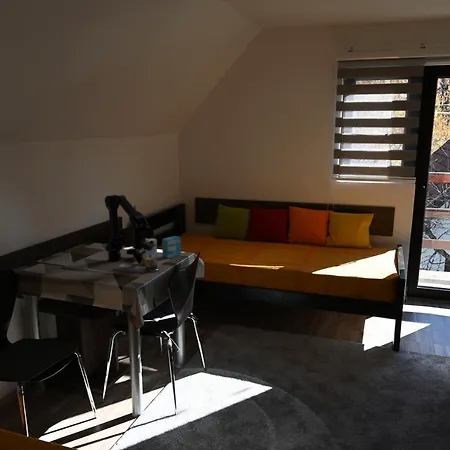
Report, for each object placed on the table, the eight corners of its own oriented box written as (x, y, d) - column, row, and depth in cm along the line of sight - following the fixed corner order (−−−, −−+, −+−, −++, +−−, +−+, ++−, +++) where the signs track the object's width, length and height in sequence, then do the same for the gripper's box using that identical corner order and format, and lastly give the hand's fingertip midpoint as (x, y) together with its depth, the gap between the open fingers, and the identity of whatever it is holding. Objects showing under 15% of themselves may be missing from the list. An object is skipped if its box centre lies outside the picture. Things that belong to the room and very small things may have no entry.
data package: (167, 259, 295) (167, 239, 293) (162, 257, 298) (161, 238, 295) (181, 255, 304) (180, 236, 302) (176, 253, 307) (175, 235, 305)
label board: (112, 270, 272) (112, 267, 272) (123, 264, 283) (122, 262, 283) (143, 273, 267) (143, 270, 266) (152, 267, 278) (152, 264, 278)
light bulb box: (146, 259, 294) (145, 242, 292) (138, 258, 297) (137, 241, 295) (157, 255, 303) (157, 238, 301) (149, 254, 306) (148, 237, 304)
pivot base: (146, 271, 269) (146, 269, 269) (151, 268, 275) (151, 267, 275) (156, 272, 268) (156, 270, 267) (161, 269, 273) (161, 267, 273)
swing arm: (158, 268, 271) (158, 260, 270) (153, 269, 269) (152, 261, 268) (138, 260, 286) (138, 253, 285) (133, 261, 284) (132, 254, 283)
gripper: (143, 240, 261) (144, 268, 264) (158, 234, 279) (159, 261, 281) (125, 239, 265) (126, 267, 267) (141, 233, 282) (142, 259, 285)
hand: (139, 263), depth 275 cm, fingers closed
